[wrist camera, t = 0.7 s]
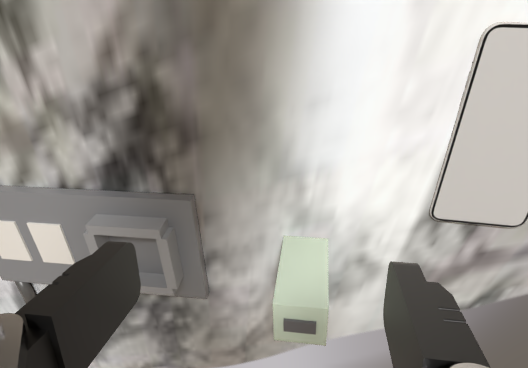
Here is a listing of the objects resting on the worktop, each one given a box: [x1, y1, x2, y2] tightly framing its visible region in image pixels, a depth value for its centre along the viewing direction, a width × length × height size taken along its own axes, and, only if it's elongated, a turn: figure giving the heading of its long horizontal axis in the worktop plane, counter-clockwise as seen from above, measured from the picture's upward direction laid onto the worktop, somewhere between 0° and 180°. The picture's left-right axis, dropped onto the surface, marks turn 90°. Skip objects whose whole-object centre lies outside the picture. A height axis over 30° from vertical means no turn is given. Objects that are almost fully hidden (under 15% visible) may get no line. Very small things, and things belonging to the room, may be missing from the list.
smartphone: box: [430, 22, 528, 228], centre depth 26 cm, size 7×1×15 cm
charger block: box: [273, 236, 329, 346], centre depth 30 cm, size 4×4×8 cm
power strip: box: [0, 186, 209, 304], centre depth 36 cm, size 16×24×3 cm, turn 92°
